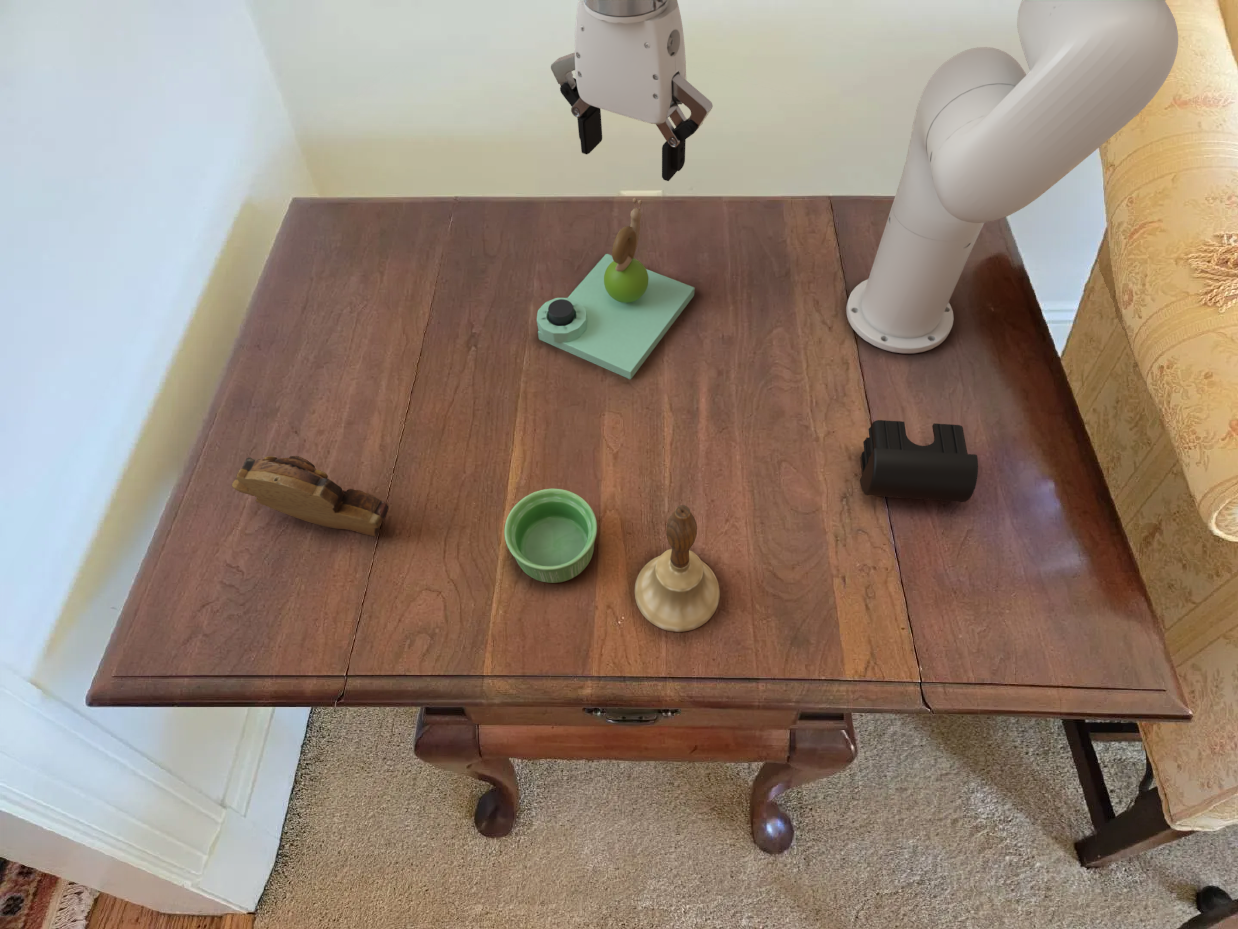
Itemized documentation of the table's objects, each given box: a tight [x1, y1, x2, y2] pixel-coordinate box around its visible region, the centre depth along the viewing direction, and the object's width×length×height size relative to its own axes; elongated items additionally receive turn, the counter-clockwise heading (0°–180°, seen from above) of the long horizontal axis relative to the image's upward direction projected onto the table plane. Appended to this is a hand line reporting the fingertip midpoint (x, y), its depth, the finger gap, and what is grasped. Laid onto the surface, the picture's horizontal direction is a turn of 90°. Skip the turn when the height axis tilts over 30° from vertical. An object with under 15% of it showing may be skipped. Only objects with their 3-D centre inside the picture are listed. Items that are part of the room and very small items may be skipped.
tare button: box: [548, 299, 574, 326], centre depth 93 cm, size 3×3×2 cm
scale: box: [536, 253, 695, 380], centre depth 95 cm, size 16×14×3 cm
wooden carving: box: [231, 455, 390, 538], centre depth 77 cm, size 16×5×10 cm, turn 78°
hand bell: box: [634, 504, 721, 633], centre depth 69 cm, size 8×8×16 cm
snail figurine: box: [604, 197, 648, 303], centre depth 92 cm, size 5×6×12 cm
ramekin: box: [503, 488, 598, 584], centre depth 77 cm, size 9×9×4 cm
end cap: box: [859, 419, 979, 503], centre depth 79 cm, size 10×7×7 cm
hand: (631, 159), depth 81 cm, fingers open, 9 cm apart
